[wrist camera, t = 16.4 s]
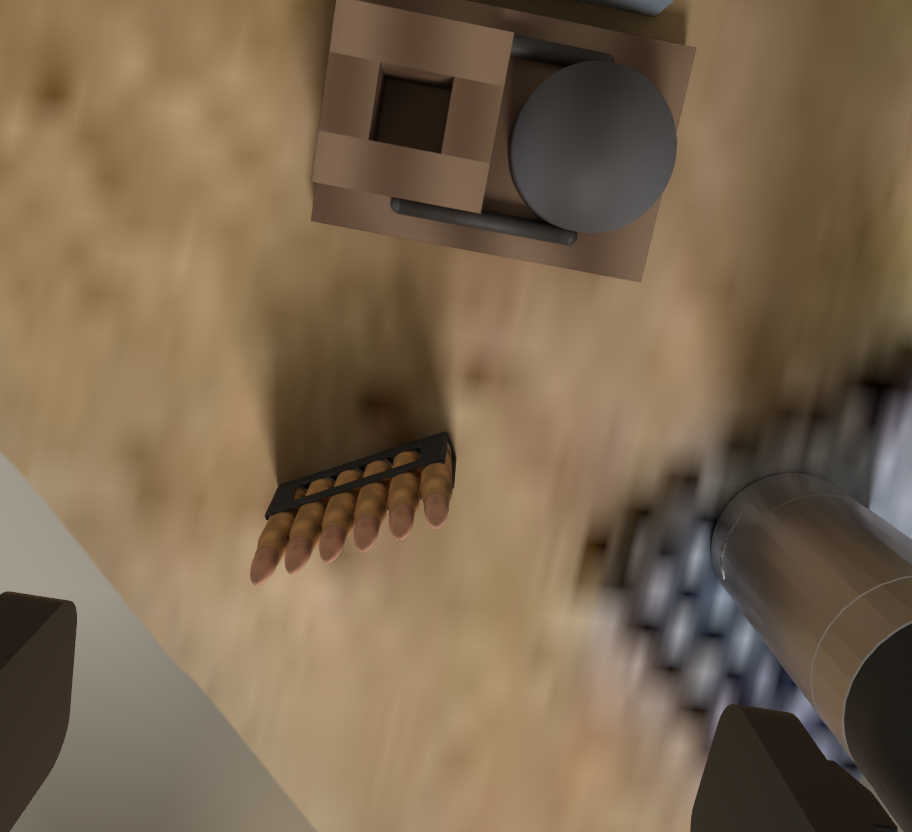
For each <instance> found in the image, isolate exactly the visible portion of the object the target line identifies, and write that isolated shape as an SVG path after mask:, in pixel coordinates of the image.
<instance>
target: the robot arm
mask: <svg viewBox="0 0 912 832" xmlns="http://www.w3.org/2000/svg"><path fill="white" fill-rule="evenodd" d="M711 555H712V563H713V566H714V570H715V573H716V575H717V577H718V579H719V580H720V582H721V584H722V585H723V587H724V588H725V590H726V591H727V592H728V594H729V595H730V596H731V598H732V599H733V600H734V602H735V603H736V604H737V606H738V607H739V608H740V610H741V611H742V613H743V614H744V616H745V617H746V618H747V620H748V621H749V622H750V624H751V625H752V626H753V628H754V629H755V630H756V632H757V633H758V634H759V636H760V637H761V638H762V640H763V641H764V642H765V644H766V645H767V646H768V648H769V649H770V650H771V652H772V653H773V654H774V656H775V657H776V658H777V660H778V661H779V662H780V664H781V665H782V666H783V668H784V669H785V670H786V672H787V673H788V674H789V676H790V677H791V678H792V680H793V681H794V682H795V684H796V685H797V686H798V688H799V689H800V690H801V692H802V693H803V694H804V696H805V697H806V698H807V700H808V701H809V702H810V704H811V705H812V706H813V708H814V709H815V710H816V712H817V713H818V714H819V716H820V717H821V718H822V720H823V721H824V722H825V724H826V725H827V726H828V728H829V729H830V730H831V731H832V733H833V734H834V735H835V737H836V738H837V740H838V741H839V742H840V744H841V745H842V746H843V748H844V749H845V750H846V752H847V753H848V754H849V756H850V757H851V758H852V760H853V761H854V762H855V764H856V766H857V767H858V768H859V770H860V771H861V772H862V774H863V775H864V776H865V778H866V779H867V780H868V782H869V783H870V784H871V786H872V787H873V788H874V790H875V792H876V793H877V795H878V796H879V798H880V799H881V801H882V802H883V804H884V805H885V807H886V808H887V809H888V811H889V812H890V813H891V815H892V816H893V817H894V819H895V820H896V822H897V823H898V825H899V826H900V827H901V828H902V830H903V832H912V539H910V538H909V537H907V536H906V535H905V534H903V533H902V532H900V531H899V530H898V529H896V528H895V527H893V526H892V525H891V524H889V523H888V522H886V521H885V520H883V519H882V518H881V517H879V516H878V515H876V514H875V513H874V512H872V511H871V510H869V509H867V508H866V507H865V506H863V505H862V504H860V503H859V502H857V501H856V500H855V499H853V498H852V497H850V496H849V495H847V494H846V493H844V492H843V491H842V490H840V489H839V488H837V487H836V486H835V485H833V484H832V483H830V482H829V481H827V480H824V479H822V478H819V477H817V476H815V475H809V474H804V473H782V474H778V475H773V476H769V477H766V478H764V479H761V480H759V481H757V482H754V483H752V484H751V485H749V486H748V487H747V488H745V489H744V490H742V491H741V492H739V493H738V494H737V495H736V496H735V497H734V498H733V499H732V500H731V501H730V502H729V503H728V504H727V506H726V508H725V509H724V511H723V512H722V514H721V515H720V517H719V519H718V521H717V524H716V526H715V529H714V531H713V537H712V543H711ZM76 626H77V612H76V607H75V605H74V603H73V602H72V601H67V600H61V599H55V598H48V597H42V596H35V595H29V594H22V593H16V592H4V593H2V594H1V595H0V832H9V831H10V830H11V829H12V827H13V826H14V824H15V823H16V822H17V820H18V819H19V817H20V816H21V814H22V813H23V811H24V810H25V808H26V807H27V805H28V804H29V803H30V801H31V800H32V798H33V797H34V795H35V794H36V792H37V791H38V789H39V788H40V786H41V785H42V783H43V782H44V780H45V779H46V777H47V776H48V775H49V773H50V771H51V770H52V768H53V766H54V764H55V762H56V760H57V758H58V756H59V753H60V750H61V748H62V745H63V742H64V738H65V735H66V731H67V727H68V722H69V715H70V704H71V690H72V677H73V664H74V652H75V639H76ZM690 832H897V826H896V825H895V824H894V822H893V821H892V819H891V818H890V817H889V815H888V814H887V813H886V811H885V810H884V809H883V807H882V806H881V804H880V803H879V802H878V800H877V799H876V798H875V797H874V795H873V794H872V793H871V792H870V791H869V790H868V789H867V788H866V787H864V786H863V785H862V784H861V783H860V782H858V781H857V780H856V779H855V778H854V777H852V776H851V775H850V774H849V773H848V772H847V771H845V770H844V769H843V768H842V767H841V766H839V765H838V764H837V763H836V762H835V761H830V760H827V759H826V758H825V756H824V755H823V753H822V752H821V751H820V749H819V748H818V746H817V745H816V743H815V742H814V741H813V739H812V738H811V736H810V735H809V733H808V732H807V730H806V729H805V728H804V726H803V725H802V723H801V722H800V720H799V719H798V718H797V717H796V716H795V715H794V714H792V713H789V712H783V711H776V710H770V709H763V708H757V707H750V706H744V705H737V704H731V705H729V706H727V707H726V708H725V710H724V711H723V713H722V715H721V717H720V719H719V722H718V725H717V729H716V732H715V735H714V739H713V742H712V746H711V749H710V752H709V756H708V759H707V762H706V766H705V769H704V772H703V776H702V779H701V782H700V786H699V789H698V793H697V796H696V799H695V803H694V806H693V810H692V816H691V831H690Z"/></svg>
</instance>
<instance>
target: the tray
mask: <svg viewBox="0 0 912 832" xmlns="http://www.w3.org/2000/svg"><path fill="white" fill-rule="evenodd" d="M577 1H582V2H587V3H592V4H596V5H601V6H606V7H611V8H616V9H620V10H625V11H630V12H635V13H640V14H645V15H649V16H654V17H656V16H657V15H658V14H659V13H660V12H661V11H663V10H664V9H665V8H666V7H667V6H668V5H670V4H671V3H672V2H673V1H674V0H577Z"/></svg>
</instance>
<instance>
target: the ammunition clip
mask: <svg viewBox="0 0 912 832" xmlns="http://www.w3.org/2000/svg"><path fill="white" fill-rule="evenodd" d="M455 469H456V456H455V453H454V450H453V447H452V444H451V441H450V438H449V435H448V433H447V432H442V433H439V434H436V435H433V436H430V437H427V438H424V439H421V440H417V441H414V442H411V443H408V444H405V445H402V446H399V447H396V448H393V449H390V450H386V451H383V452H380V453H377V454H374V455H371V456H368V457H365V458H362V459H359V460H355V461H352V462H349V463H346V464H343V465H340V466H337V467H334V468H331V469H328V470H324V471H321V472H318V473H315V474H312V475H309V476H306V477H303V478H300V479H297V480H293V481H290V482H287V483H284V484H281V485H280V486H279V487H278V488H277V490H276V492H275V494H274V497H273V499H272V501H271V503H270V505H269V507H268V509H267V512H266V514H265V518H266V520H268V519H269V520H268V522H267V524H266V526H265V528H264V530H263V532H262V534H261V536H260V538H259V540H258V546H257V551H256V553H255V557H254V559H253V561H252V565H251V571H250V578H251V582H252V583H253V585H260V584H262V583H263V582H265V581H266V580H267V579H268V578H269V577H270V576H271V575H272V574H273V572H274V571H275V569H276V567H277V565H278V564H279V562H280V560H281V559H282V558H283V557H284V556H285V567H286V570H287V572H288V573H289V574H295V573H297V572H298V571H299V570H301V569H302V568H303V567H304V566H305V564H306V563H307V561H308V559H309V558H310V555H311V553H312V552H313V550H314V548H315V547H316V546H317V545H318V544H319V542H320V546H319V551H320V556H321V559H322V560H323V562H325V563H330V562H332V561H333V560H334V559H336V558H337V557H338V555H339V554H340V552H341V550H342V549H343V547H344V544H345V542H346V540H347V537H348V536H349V535H350V533H351V532H352V530H353V527H354V524H355V529H354V540H355V545H356V547H357V549H358V550H359V551H361V552H365V551H367V550H368V549H370V548H371V547H372V545H373V544H374V542H375V540H376V538H377V536H378V532H379V530H380V527H381V525H382V524H383V522H384V520H385V517H386V512H387V510H389V525H390V530H391V533H392V535H393V536H394V538H395V539H397V540H403V539H404V538H405V537H406V536H407V535H408V534H409V532H410V530H411V528H412V525H413V520H414V516H415V513H416V512H417V510H418V507H419V500H420V499H422V500H423V503H424V511H425V516H426V519H427V521H428V523H429V524H430V526H431V527H433V528H435V529H438V528H440V527H441V526H442V525H443V524H444V522H445V521H446V519H447V515H448V511H449V503H450V501H451V498H452V493H453V491H452V489H454V482H455ZM420 488H421V491H420ZM270 516H271V517H270ZM269 517H270V518H269Z"/></svg>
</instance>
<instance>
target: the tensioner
mask: <svg viewBox="0 0 912 832" xmlns="http://www.w3.org/2000/svg"><path fill="white" fill-rule="evenodd" d="M695 51H696V47H691V46H686V45H681V44H676V43H671V42H666V41H662V40H657V39H652V38H647V37H642V36H637V35H632V34H628V33H623V32H618V31H613V30H608V29H603V28H598V27H594V26H589V25H584V24H579V23H574V22H569V21H564V20H560V19H555V18H550V17H545V16H540V15H535V14H530V13H526V12H521V11H516V10H511V9H506V8H501V7H496V6H492V5H487V4H482V3H477V2H472V1H467V0H336V5H335V12H334V20H333V27H332V34H331V42H330V49H329V57H328V64H327V71H326V79H325V86H324V94H323V101H322V108H321V116H320V123H319V131H318V138H317V145H316V153H315V160H314V167H313V175H312V182H316V188H315V195H314V202H313V210H312V217H311V221H314V222H319V223H325V224H330V225H335V226H341V227H346V228H351V229H357V230H362V231H368V232H373V233H378V234H384V235H389V236H394V237H400V238H405V239H411V240H416V241H421V242H427V243H432V244H438V245H443V246H448V247H454V248H459V249H464V250H470V251H475V252H481V253H486V254H491V255H497V256H502V257H507V258H513V259H518V260H524V261H529V262H534V263H540V264H545V265H550V266H556V267H561V268H567V269H572V270H577V271H583V272H588V273H593V274H599V275H604V276H610V277H615V278H620V279H626V280H631V281H636V282H641V280H642V276H643V271H644V267H645V263H646V259H647V255H648V250H649V246H650V242H651V238H652V233H653V229H654V225H655V221H656V216H657V212H658V208H659V204H660V200H661V195H662V192H663V191H664V189H665V187H666V186H667V183H668V181H669V179H670V177H671V174H672V171H673V167H674V164H675V158H676V149H677V138H676V132H677V128H678V123H679V119H680V115H681V111H682V106H683V102H684V98H685V94H686V90H687V85H688V81H689V77H690V73H691V68H692V64H693V60H694V56H695Z"/></svg>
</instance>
